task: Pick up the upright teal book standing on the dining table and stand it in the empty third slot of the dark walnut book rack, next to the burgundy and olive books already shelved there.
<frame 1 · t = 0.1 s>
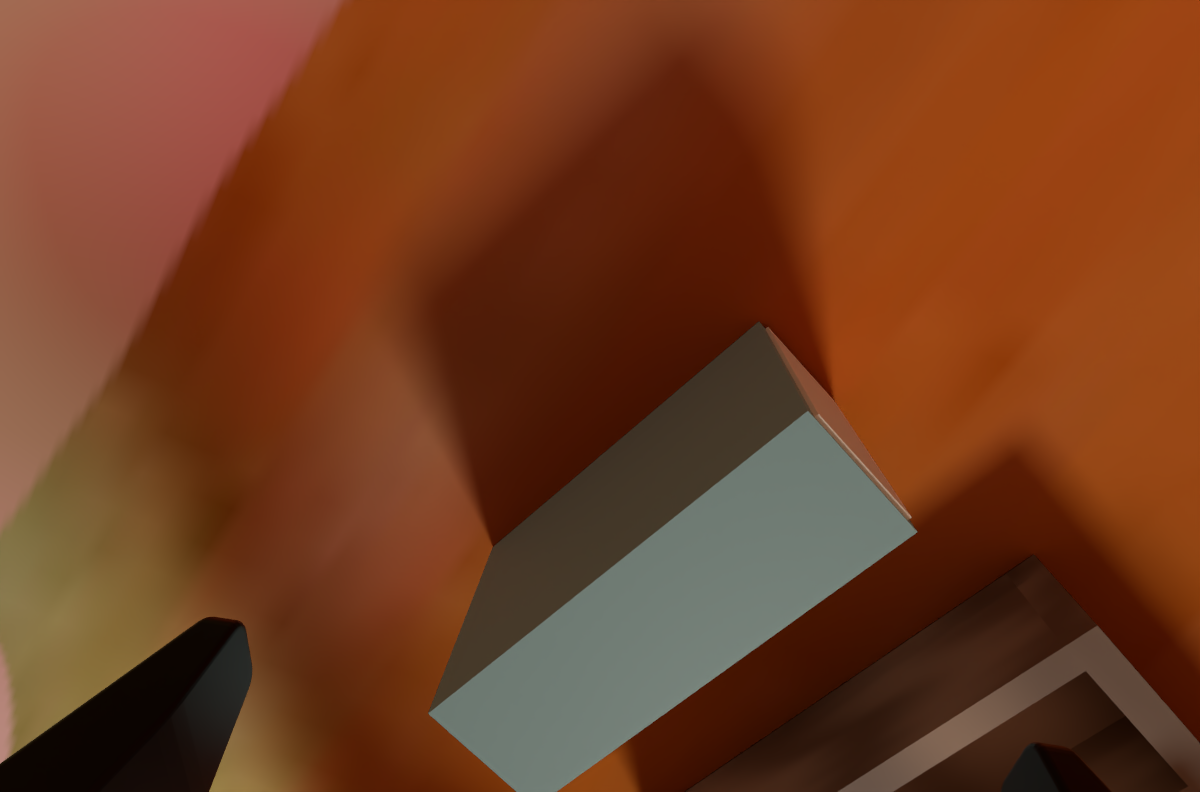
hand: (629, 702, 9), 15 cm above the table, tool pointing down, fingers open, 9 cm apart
teal book: (656, 479, 25), on the table
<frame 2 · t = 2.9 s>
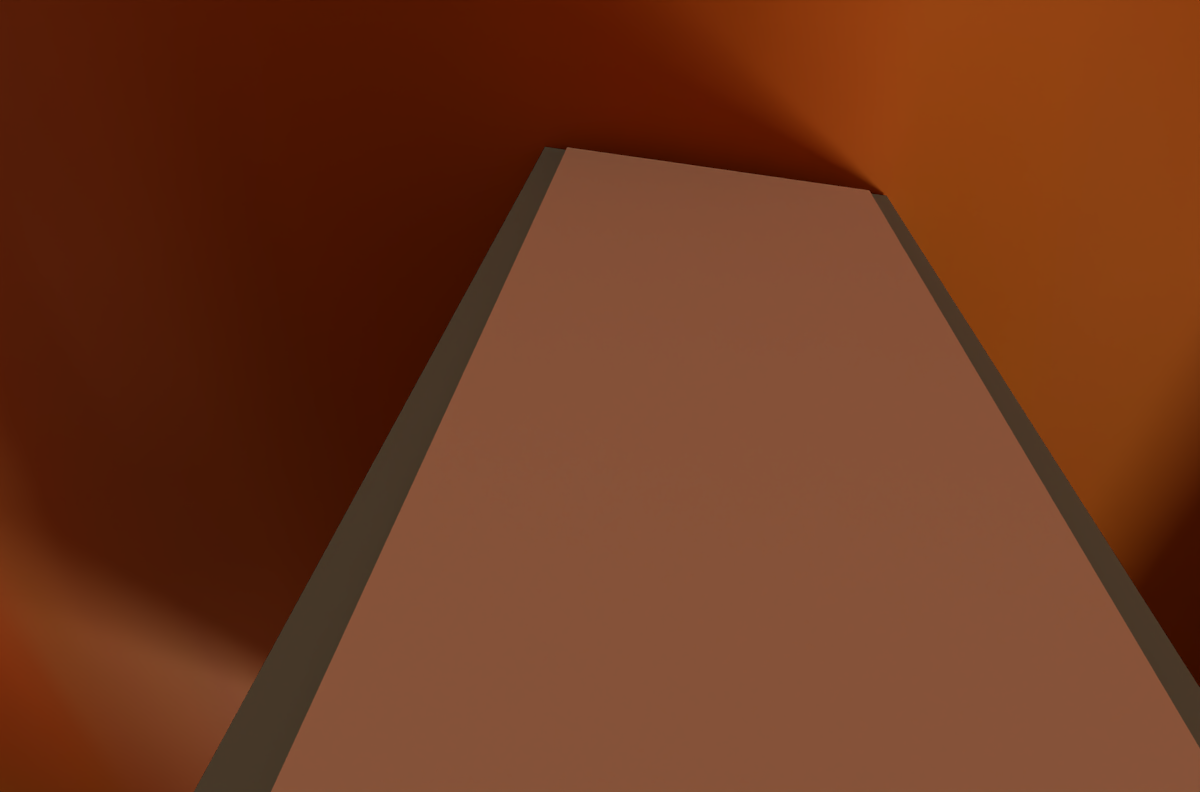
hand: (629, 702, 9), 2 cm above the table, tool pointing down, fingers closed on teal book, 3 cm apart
teal book: (638, 564, 11), on the table, touching gripper
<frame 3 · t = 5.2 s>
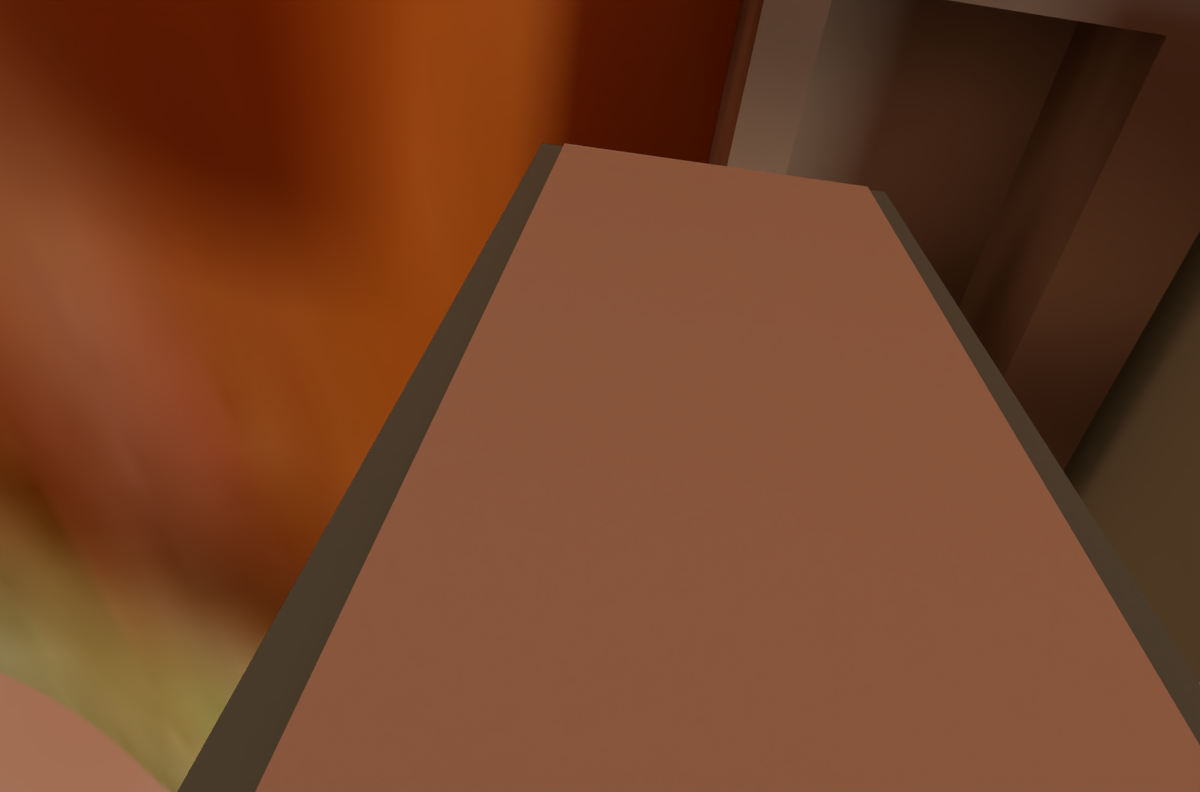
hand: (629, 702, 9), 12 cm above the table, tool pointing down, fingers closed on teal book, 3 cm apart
olive book: (1139, 374, 19), resting on book rack
teal book: (637, 562, 11), point 9 cm above the table, touching gripper
book rack: (1123, 356, 19), on the table
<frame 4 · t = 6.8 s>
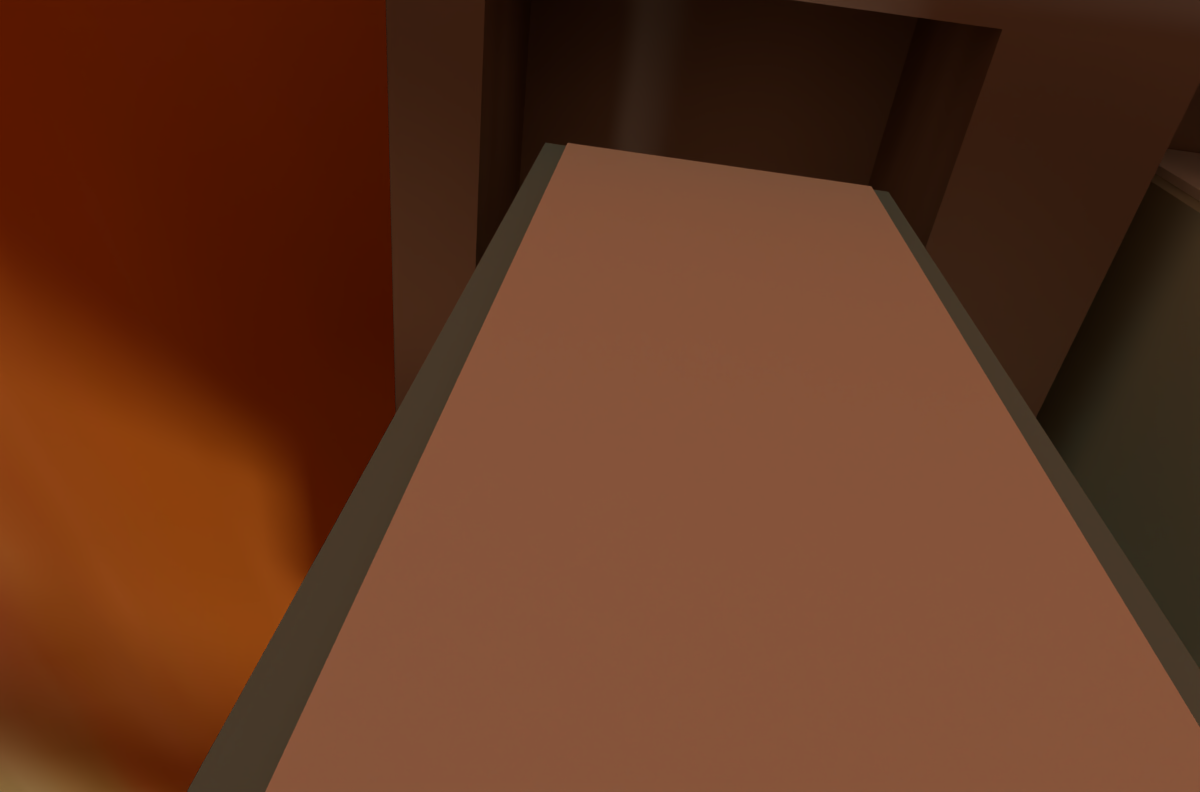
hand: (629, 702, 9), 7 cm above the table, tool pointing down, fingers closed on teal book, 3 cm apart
olive book: (1052, 476, 14), resting on book rack
teal book: (639, 562, 11), point 4 cm above the table, touching gripper
book rack: (1035, 449, 15), on the table
when the fingers open (5 cm above the table, at t = 8.0 s): teal book drops 2 cm, resting on book rack.
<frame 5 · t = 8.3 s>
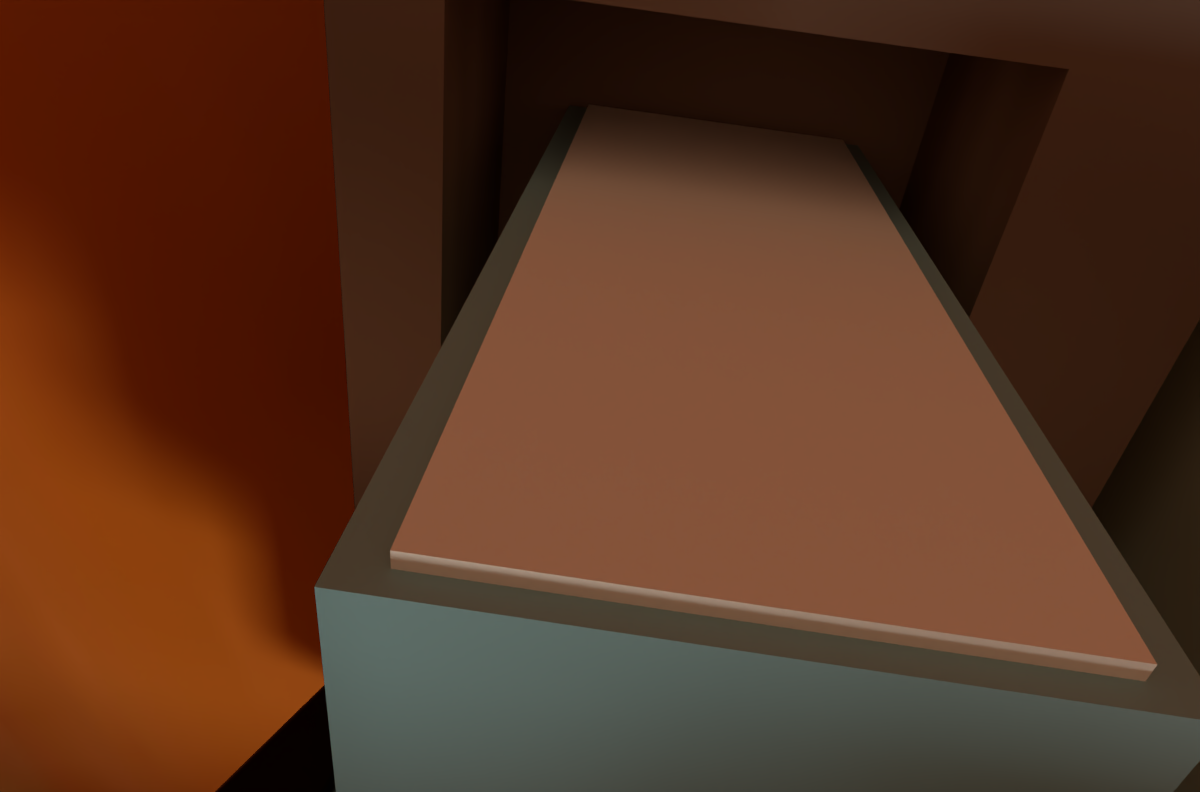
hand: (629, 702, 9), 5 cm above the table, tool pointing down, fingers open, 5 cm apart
olive book: (1091, 546, 13), resting on book rack
teal book: (647, 481, 13), point 1 cm above the table, touching book rack
book rack: (1071, 512, 13), on the table
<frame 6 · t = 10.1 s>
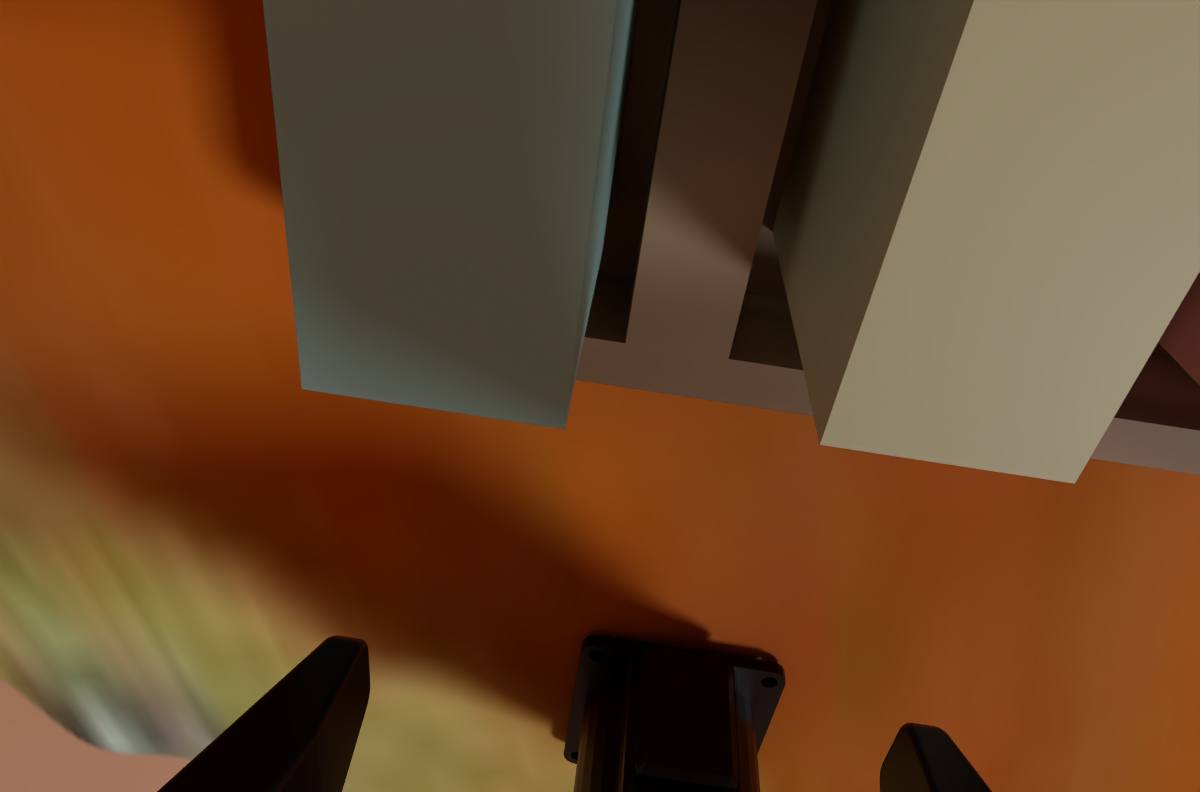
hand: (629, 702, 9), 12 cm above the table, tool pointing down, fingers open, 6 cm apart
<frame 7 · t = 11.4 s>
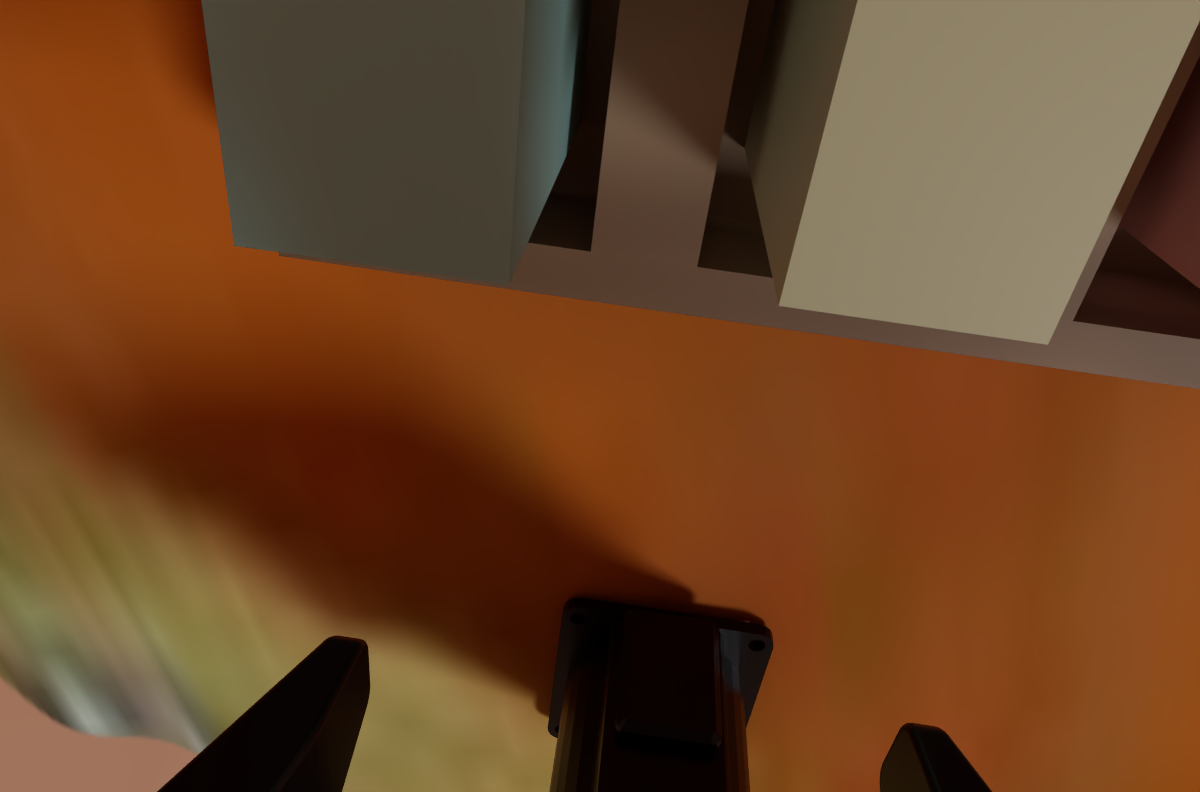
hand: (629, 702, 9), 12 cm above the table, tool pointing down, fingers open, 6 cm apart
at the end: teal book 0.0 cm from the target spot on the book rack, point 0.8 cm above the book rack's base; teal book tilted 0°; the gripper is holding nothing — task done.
